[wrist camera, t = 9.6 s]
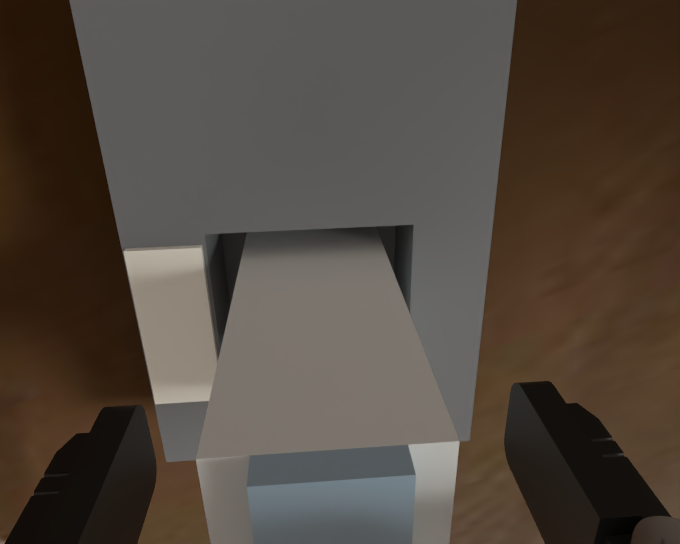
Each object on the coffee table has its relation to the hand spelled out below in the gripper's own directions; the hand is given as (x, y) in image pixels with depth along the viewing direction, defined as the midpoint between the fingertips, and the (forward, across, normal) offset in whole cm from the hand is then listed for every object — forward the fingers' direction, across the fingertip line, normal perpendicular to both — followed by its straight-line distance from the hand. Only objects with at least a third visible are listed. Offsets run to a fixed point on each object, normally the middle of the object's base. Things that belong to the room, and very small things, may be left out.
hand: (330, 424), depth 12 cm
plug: (+7, 0, 0) cm, 7 cm away
